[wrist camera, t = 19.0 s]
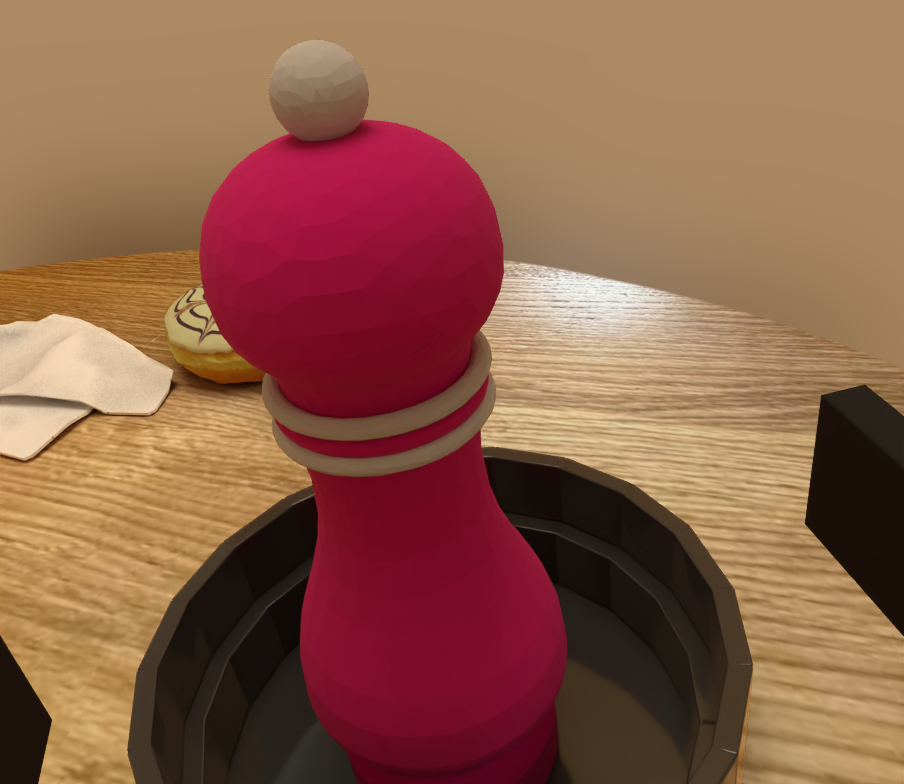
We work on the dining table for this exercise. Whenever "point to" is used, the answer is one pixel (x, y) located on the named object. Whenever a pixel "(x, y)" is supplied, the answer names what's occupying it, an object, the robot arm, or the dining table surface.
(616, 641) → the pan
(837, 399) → the robot arm
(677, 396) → the dining table surface
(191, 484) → the dining table surface
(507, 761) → the pepper mill
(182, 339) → the decorated donut
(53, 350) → the cloth
